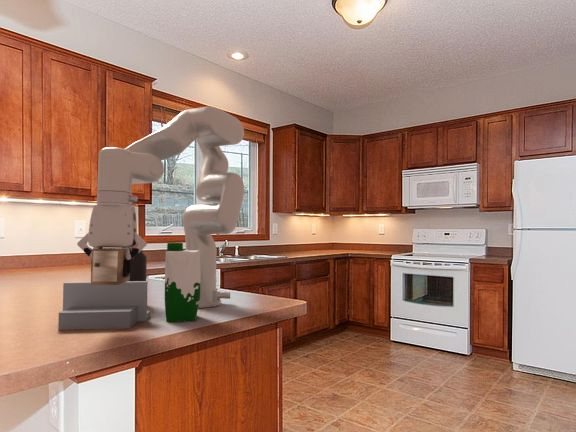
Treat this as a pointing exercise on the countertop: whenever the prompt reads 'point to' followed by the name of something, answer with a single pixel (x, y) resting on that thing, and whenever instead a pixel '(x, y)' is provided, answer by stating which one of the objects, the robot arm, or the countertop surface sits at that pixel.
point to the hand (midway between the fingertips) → (111, 275)
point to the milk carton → (181, 283)
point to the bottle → (138, 266)
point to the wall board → (103, 305)
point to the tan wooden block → (108, 266)
